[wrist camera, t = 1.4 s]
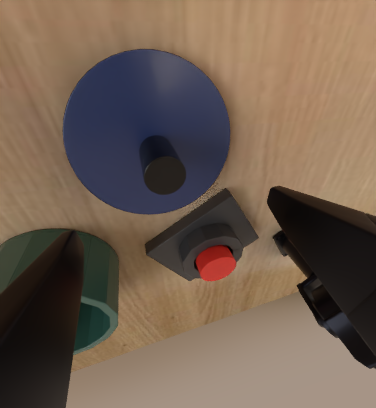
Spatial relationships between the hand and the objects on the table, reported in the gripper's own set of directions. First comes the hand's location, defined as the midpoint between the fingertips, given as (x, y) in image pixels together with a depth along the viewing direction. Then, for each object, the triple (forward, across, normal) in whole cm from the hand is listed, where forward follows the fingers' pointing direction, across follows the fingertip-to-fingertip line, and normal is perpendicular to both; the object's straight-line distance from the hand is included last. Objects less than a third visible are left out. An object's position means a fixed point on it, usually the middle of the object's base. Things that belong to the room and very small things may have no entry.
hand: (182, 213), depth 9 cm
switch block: (+9, -4, +12) cm, 15 cm away
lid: (+8, 0, 0) cm, 8 cm away
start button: (+6, -4, +12) cm, 14 cm away
